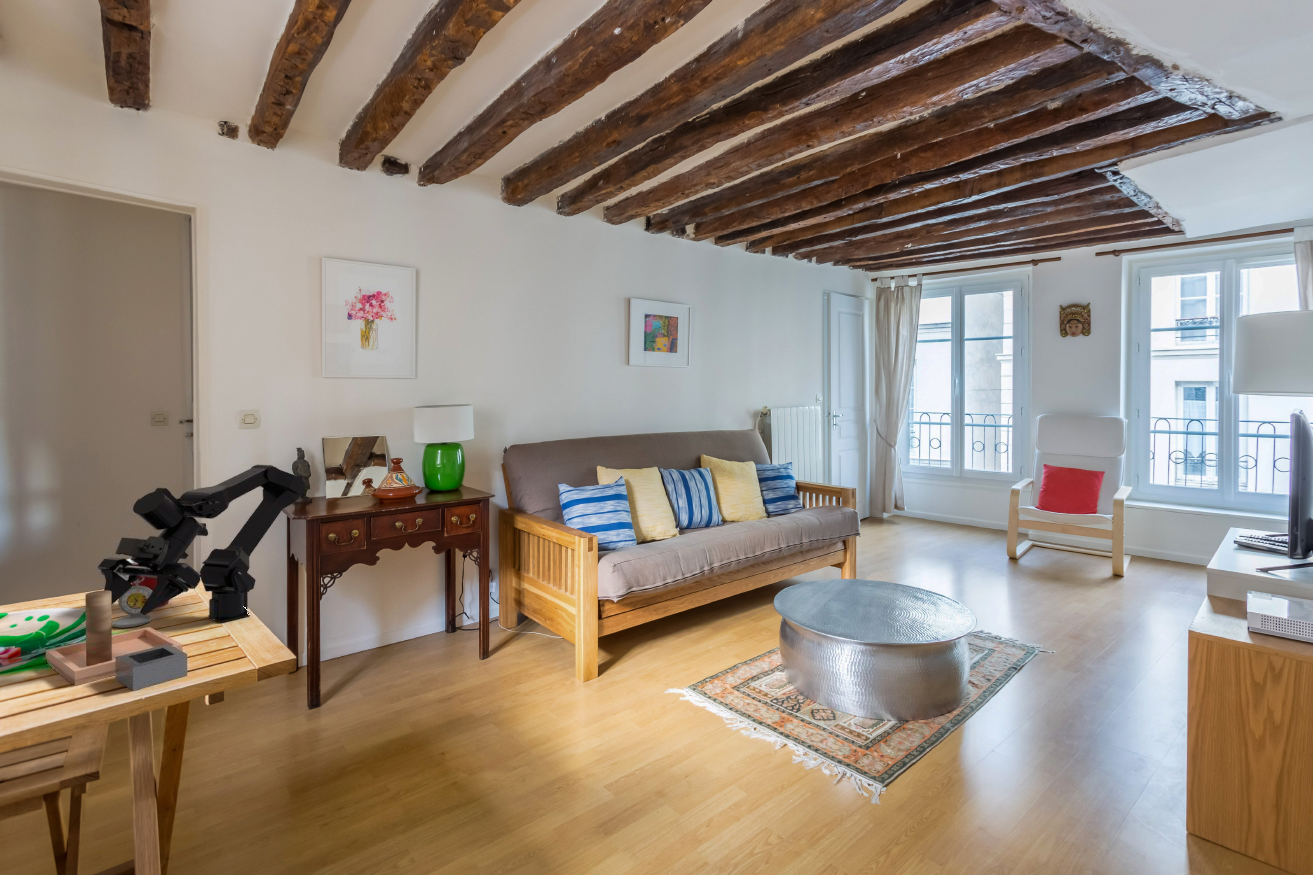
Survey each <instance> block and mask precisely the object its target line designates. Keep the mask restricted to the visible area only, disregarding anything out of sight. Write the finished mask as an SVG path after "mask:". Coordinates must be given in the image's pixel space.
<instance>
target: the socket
mask: <svg viewBox="0 0 1313 875" xmlns="http://www.w3.org/2000/svg"><path fill="white" fill-rule="evenodd" d="M115 668H116V675H115V680H116V681H118V682H119V683H121V684H122V685H123V686H125V687H126V688H128V689H129V690H130V691H132V692H134V691H139V690H142V689H145V688H148V687H152V686H155V685H160V684H162V683H166V682H169V681H174V680H176V679H179V678H183V677H187V676H188V653H186V652H185V651H184V650H183V651H181V650H179V649H177V648H175V647H174V646H172V645H170V644H166V645H162V646H158V647H154V648H150V649H146V650H142V651H138V652H134V653H130V654H125V655H121V656H117V657H115Z"/></svg>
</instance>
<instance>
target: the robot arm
mask: <svg viewBox="0 0 1313 875" xmlns="http://www.w3.org/2000/svg"><path fill="white" fill-rule="evenodd" d="M259 487H261V488H262V500H261V502H260V503H259V504H258V505H257V507H256V508H255V510H254V511H253V512H252V513H251V515H249V518H248V519H247V520H246V522H245V523H244V524H243V526H242V527H241V529H240V530H239V531H238V533H237V534H236V536H234V537H233V540H232V541H231V542H230V544H229V545H228V546H226V547H225V548H214V549H213V550H211V552H210V553H209V555H208V556H207V558H206V559H205V560H204V561H202V562H201V563H202V567H201V568H200V570H199V572H198V571H196V569H194V568H193V567H191V565H189V564H188V563H187V562H186V563H185V562H179V561H180V560H187V558H188V557H189V554H188V553H187V552H186V551H187V550H188V549H189V547H190V546H191V544H192V543H193V542H194V540H195V539H196V538H197V536H199V537H200V536H201V537H207V536H208V535H209V531H208V529H207V523H205V522H199V521H198V520H197V519H209V520H210V519H211V520H212V519H215V518H217V517H218V516H219V515H221V514H222V513H224V512H225V511H226V510H227V509H228V508H229V505H230V503H231V502H233V501H235V500H237V499H238V498H241V497H242V496H244V495H246V494H248V493H250V492H251V491H254V490H256V489H257V488H259ZM305 491H306V482H305V481H304V479H303V477H302V476H300V475H298V474H297V475H295V474H292V473H290V472H287V471H284V470H283V469H279V468H278V467H276V466H274V465H272V464H255V465H252V466H251V468H249V469H247V470H245V471H243V472H241V473H239V474H237V475H234V476H232V477H230V478H228V479H226V480H224V481H222V482H219V483H217V484H216V485H212V486H206V487H205V486H204V487H199V488H196V489H195V488H194V489H192V490H191V489H190V490H188V491H185V492H184V493H182V494H181V495H180V496H179V497H177V498H176V497H175V496H174V495H173V494H172V493H171V491H170V490H169V489H168V488H166V487H157V488H155V490H153V491H152V492H149V493H147V494H145V495H143V496H142V497H140V498H137V500H136V501H135V502H134V504H133V506H132V511H133V513H135V514H136V515H137V516H139V517H140V518H141V519H142V520H143V521H144V522H145V523H147V524H148V525H149V526H150V527H151V528H153V529H154V530H156V531H160V530H162V531H161V532H160V533H159V535H158V536H154V535H153V536H152V535H150V536H148V537H147V538H146V539H144V538H143V539H142V538H135V537H134V538H132V537H121V538H120V540H119V542H118V546H117V548H116V550H115V552H114V553H115V555H125V556H128V557H131V560H132V561H133V562H136V563H138V565H137V566H134V565H133V564H131V563H130V562H129V561H127V559H126V558H123V557H107V558H104V559H103V560H102V561H101V562H100V563H99V565H98V566H97V569H98V570H100V574H101V575H103V577H104V579H105V584H104V588H103V589H104V590H108V591H111V605H112V606H113V605H114V604H115V603H116V602H118V600H119V598H120V597H121V596H122V595H123V594H125V593H126V592H127V591H128V590H129V589H130V588H131V587H133V585H132V582H134V581H136V580H137V579H138V578H139V576H142V577H153V578H157V584H156V587H155V588H154V590H153V591H152V593H151V594H150V596H149V597H148V599H147V601H146V602H145V604H144V605H143V607H142V609H141V611H140V614H142V615H149V614H150V613H151V612H152V611H155V609H157V608H160V607H159V606H160V605H162V604H163V603H165V602H167V601H168V600H169V601H170V600H172V599H173V598H176V597H177V596H180V595H182V594H183V593H187V592H188V591H189V589H190V590H196V589H197V587H198V585H199V584H200V582H201V583H202V585H203V587H204V591H205V592H207V593H208V592H210V593H211V598H210V599H209V600H208V601H209V602H208V603H209V604H208V606H209V608H208V618H209V619H212V620H213V621H216V622H218V623H225V622H230V621H233V620H237V618H239V619H242V617H243V618H247V617H249V616H248V614H249V613H250V612H249V611H247V610H246V609H248V610H249V608H248V607H249V606H248V602H249V600H248V596H249V594H248V593H250V591H251V590H254V588H255V584H256V579H255V578H254V577H253V576H252V575H251V574H250V573H249V570H250V556H251V555H252V553H253V552H254V551H255V549H256V548H257V546H258V545H259V543H260V542H261V541H262V539H263V538H264V537H265V535H266V534H267V532H268V530H269V529H270V528H271V526H272V525H273V524H274V522H275V521H276V519H277V518H278V517H279V515H280V513H281V512H282V511H283V510H284V509H286V508H288V507H289V506H291V505H293V504H295V503H296V502H297V501H298V500H299V499H300V498H301V497H302V496H303V494H304V492H305ZM243 606H244V607H246V609H245V608H244V607H243ZM247 612H249V613H248V614H247ZM246 616H247V617H246Z"/></svg>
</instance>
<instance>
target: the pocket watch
mask: <svg viewBox="0 0 1313 875" xmlns="http://www.w3.org/2000/svg"><path fill="white" fill-rule="evenodd" d="M141 577H142V576H141ZM143 580H144V577H143V579H142V580H141V581H143ZM141 581H139V580H138V579H137V580H136V581H134V582H133V583H134V584H136V585H135V586H132V587H131V588H130V589H129V590H128V591H127V592H126V593H125V594H123V595H122V596H121V597H120V598H119V599H118V600H117V603H118V607H119V609H120V610H121V611H122V612H123V613H124V614H126V615H127V616H123V617H120V618H117V619H115V620H114V621H112V627H115V628H126V629H127V628H132V627H139V626H142V625H145V624H147V623H149V622H150V621H151V620H152V616H151V615H149V614H146V615H142V614H140V611H141V609H142V607H143V605H144V604H145V603H143V601H144V602H145V601H146V600H147V599H148V597H149V596H150V594H151V593H152V590H151V589H149V588H147V587H145V586H139V585H138V583H140V582H141ZM143 596H146V597H145V598H147V599H145V598H144V597H143ZM142 597H143V598H142ZM141 599H142V600H141ZM141 606H142V607H141ZM139 607H140V608H139Z"/></svg>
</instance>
